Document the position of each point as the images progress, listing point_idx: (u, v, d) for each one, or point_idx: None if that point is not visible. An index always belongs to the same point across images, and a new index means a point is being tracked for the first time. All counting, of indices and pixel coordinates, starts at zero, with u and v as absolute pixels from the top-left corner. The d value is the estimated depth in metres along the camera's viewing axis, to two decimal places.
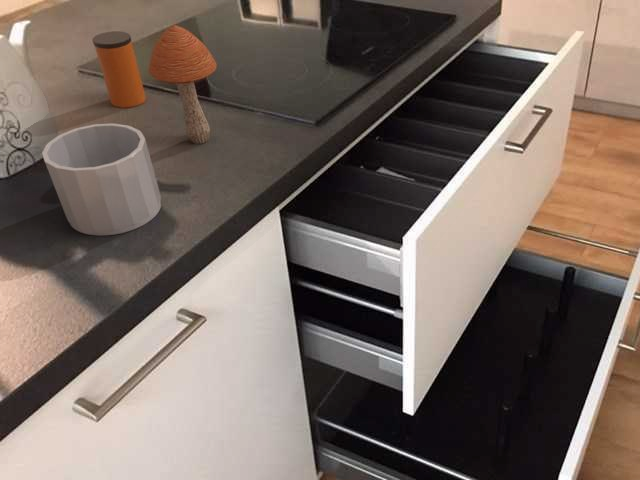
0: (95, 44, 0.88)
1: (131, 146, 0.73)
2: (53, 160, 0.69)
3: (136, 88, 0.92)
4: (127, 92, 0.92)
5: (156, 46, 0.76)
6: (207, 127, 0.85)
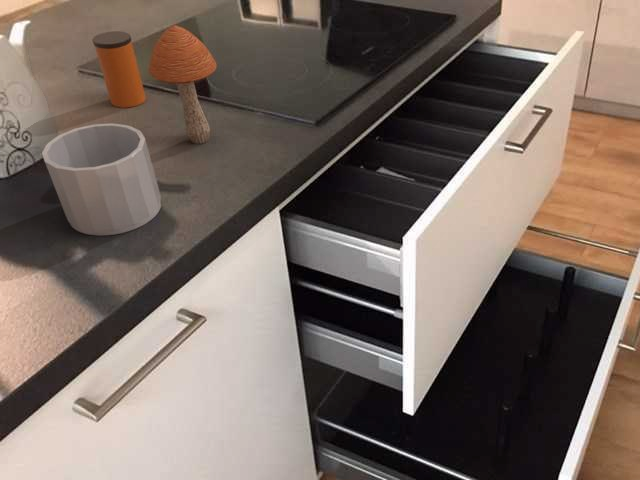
0: (95, 44, 0.88)
1: (131, 146, 0.73)
2: (53, 160, 0.69)
3: (136, 88, 0.92)
4: (127, 92, 0.92)
5: (156, 46, 0.76)
6: (207, 127, 0.85)
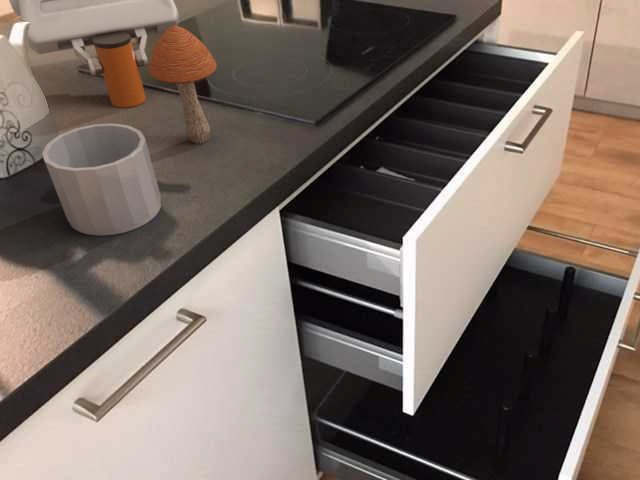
0: (95, 44, 0.88)
1: (131, 146, 0.73)
2: (53, 160, 0.69)
3: (136, 88, 0.92)
4: (127, 92, 0.92)
5: (156, 46, 0.76)
6: (207, 127, 0.85)
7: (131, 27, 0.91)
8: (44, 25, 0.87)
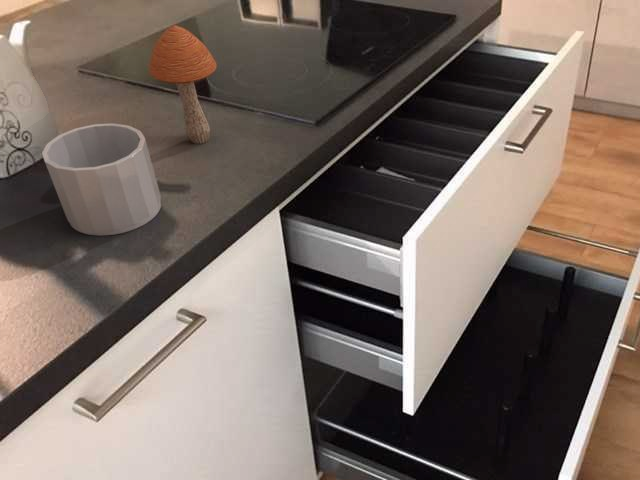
0: None
1: (131, 146, 0.73)
2: (53, 160, 0.69)
3: None
4: None
5: (156, 46, 0.76)
6: (207, 127, 0.85)
7: None
8: None
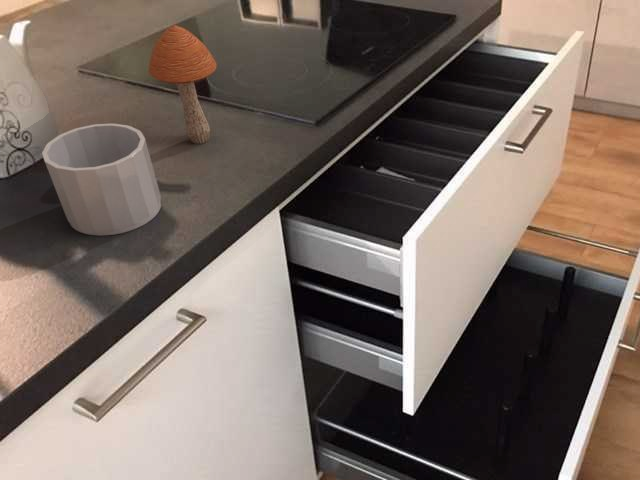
0: None
1: (131, 146, 0.73)
2: (53, 160, 0.69)
3: None
4: None
5: (156, 46, 0.76)
6: (207, 127, 0.85)
7: None
8: None
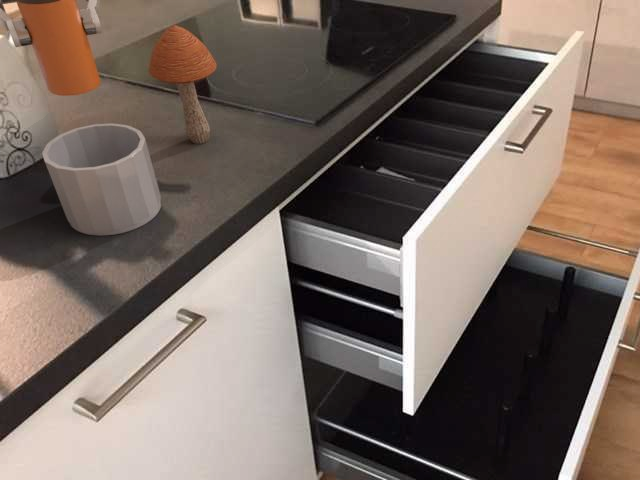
0: None
1: (131, 146, 0.73)
2: (53, 160, 0.69)
3: (83, 66, 0.62)
4: (70, 72, 0.61)
5: (156, 46, 0.76)
6: (207, 127, 0.85)
7: None
8: None
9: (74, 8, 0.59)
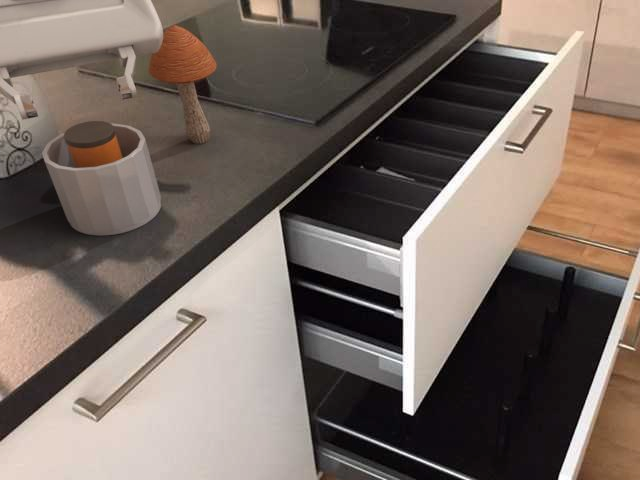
0: (67, 142, 0.66)
1: (131, 146, 0.73)
2: (53, 160, 0.69)
3: None
4: None
5: None
6: (207, 127, 0.85)
7: (96, 48, 0.65)
8: None
9: (116, 147, 0.68)
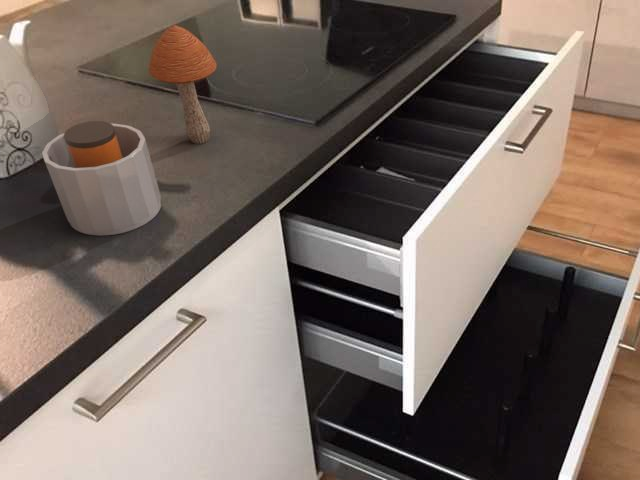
0: (67, 142, 0.66)
1: (131, 146, 0.73)
2: (53, 160, 0.69)
3: None
4: None
5: (156, 46, 0.76)
6: (207, 127, 0.85)
7: None
8: None
9: (116, 147, 0.68)
